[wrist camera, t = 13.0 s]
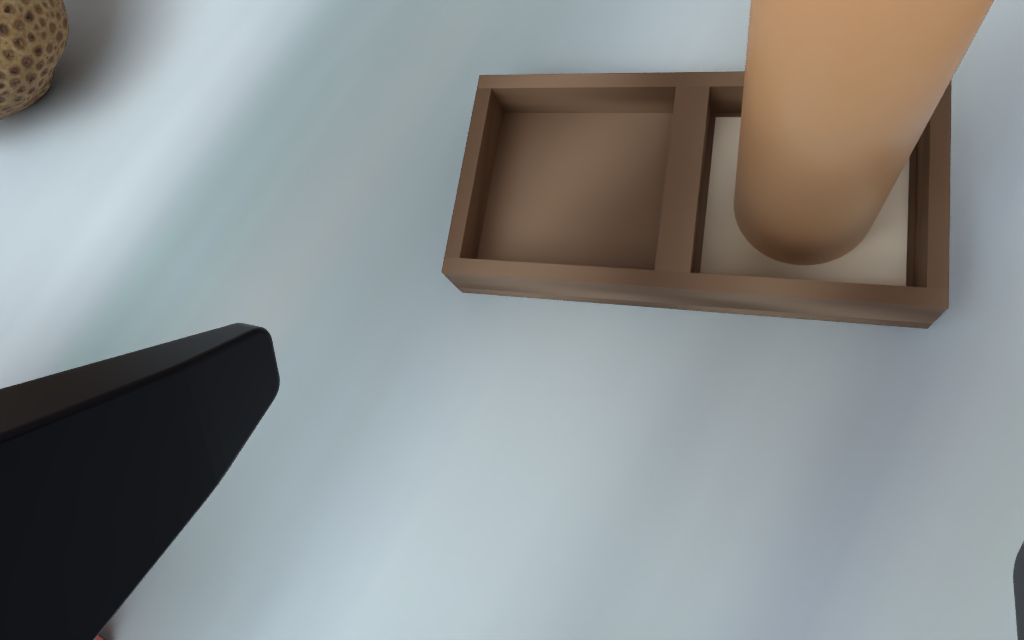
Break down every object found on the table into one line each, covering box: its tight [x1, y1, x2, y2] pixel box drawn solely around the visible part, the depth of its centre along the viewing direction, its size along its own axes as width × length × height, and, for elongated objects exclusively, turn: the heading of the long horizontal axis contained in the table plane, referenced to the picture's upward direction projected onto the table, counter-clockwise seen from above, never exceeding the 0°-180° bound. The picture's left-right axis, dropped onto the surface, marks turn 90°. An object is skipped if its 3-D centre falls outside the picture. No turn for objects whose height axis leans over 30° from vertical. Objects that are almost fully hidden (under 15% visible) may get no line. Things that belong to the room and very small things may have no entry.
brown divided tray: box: [442, 72, 951, 328], centre depth 23 cm, size 14×7×2 cm, turn 81°
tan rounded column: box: [734, 0, 994, 266], centre depth 14 cm, size 4×4×16 cm
